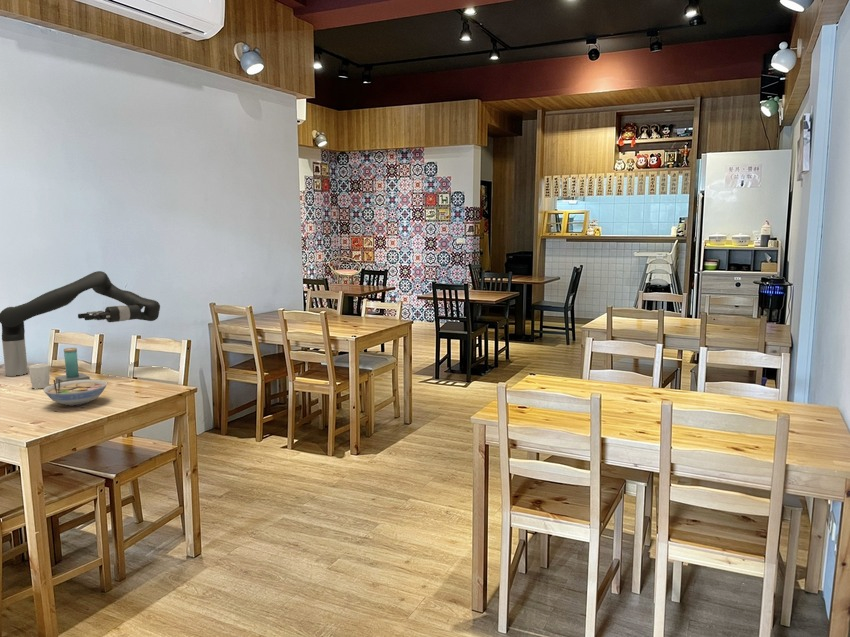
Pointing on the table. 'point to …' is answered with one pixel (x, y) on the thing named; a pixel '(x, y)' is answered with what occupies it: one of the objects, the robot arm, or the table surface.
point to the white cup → (39, 375)
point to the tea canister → (71, 362)
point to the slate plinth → (80, 377)
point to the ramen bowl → (75, 391)
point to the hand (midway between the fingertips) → (81, 317)
